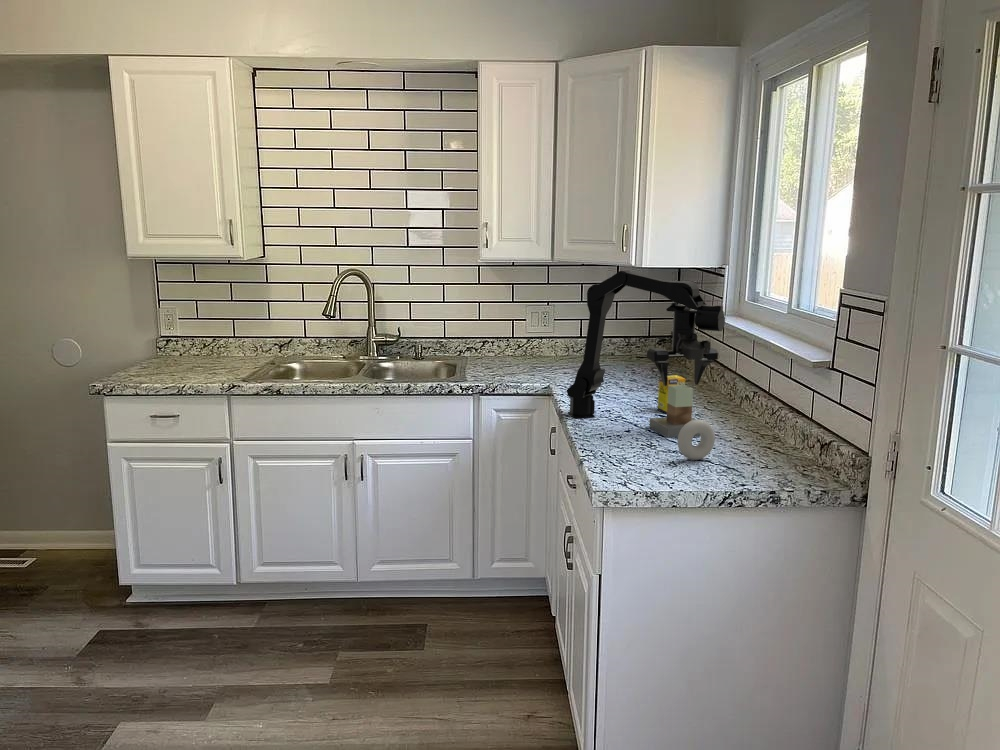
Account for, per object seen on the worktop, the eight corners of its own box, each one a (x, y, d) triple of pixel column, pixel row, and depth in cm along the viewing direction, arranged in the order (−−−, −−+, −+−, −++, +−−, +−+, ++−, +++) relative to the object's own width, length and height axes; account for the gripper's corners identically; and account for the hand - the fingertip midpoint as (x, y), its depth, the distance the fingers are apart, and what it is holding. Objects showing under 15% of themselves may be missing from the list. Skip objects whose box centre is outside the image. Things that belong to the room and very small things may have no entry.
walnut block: (674, 424, 208) (675, 407, 208) (666, 420, 213) (667, 403, 212) (691, 424, 210) (692, 406, 209) (682, 419, 214) (683, 402, 213)
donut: (708, 455, 189) (710, 416, 187) (716, 459, 185) (719, 419, 183) (673, 459, 185) (675, 419, 183) (681, 463, 182) (683, 423, 180)
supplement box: (666, 414, 231) (668, 379, 229) (657, 410, 237) (658, 375, 235) (683, 413, 233) (685, 378, 231) (674, 409, 238) (676, 374, 236)
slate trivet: (667, 437, 205) (668, 428, 204) (649, 426, 216) (649, 418, 216) (708, 435, 207) (709, 426, 207) (688, 424, 219) (689, 416, 218)
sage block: (675, 407, 208) (676, 389, 207) (667, 403, 212) (668, 385, 211) (692, 406, 209) (693, 388, 208) (684, 402, 213) (685, 384, 212)
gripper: (664, 333, 197) (661, 392, 200) (730, 331, 201) (726, 389, 204) (647, 327, 208) (644, 384, 210) (710, 326, 212) (706, 381, 214)
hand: (680, 385), depth 209 cm, fingers open, 9 cm apart
